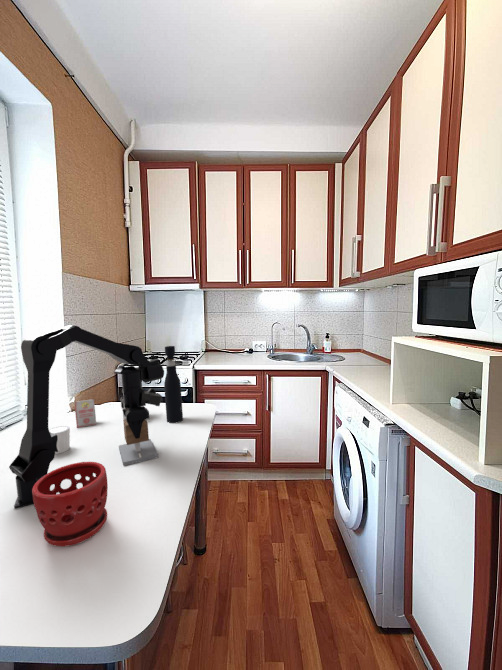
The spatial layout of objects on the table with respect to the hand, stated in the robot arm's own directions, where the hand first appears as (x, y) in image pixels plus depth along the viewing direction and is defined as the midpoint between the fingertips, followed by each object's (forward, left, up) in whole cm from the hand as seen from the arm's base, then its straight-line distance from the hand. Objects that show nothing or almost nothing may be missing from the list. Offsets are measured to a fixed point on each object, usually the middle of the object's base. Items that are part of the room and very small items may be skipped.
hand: (136, 434), depth 104 cm
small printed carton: (+40, +14, -6) cm, 43 cm away
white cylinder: (+17, +22, -6) cm, 29 cm away
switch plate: (0, 0, -6) cm, 6 cm away
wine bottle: (+24, -18, -6) cm, 30 cm away
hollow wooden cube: (0, 0, -2) cm, 2 cm away
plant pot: (-33, +16, -6) cm, 37 cm away
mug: (+36, -4, -6) cm, 37 cm away
